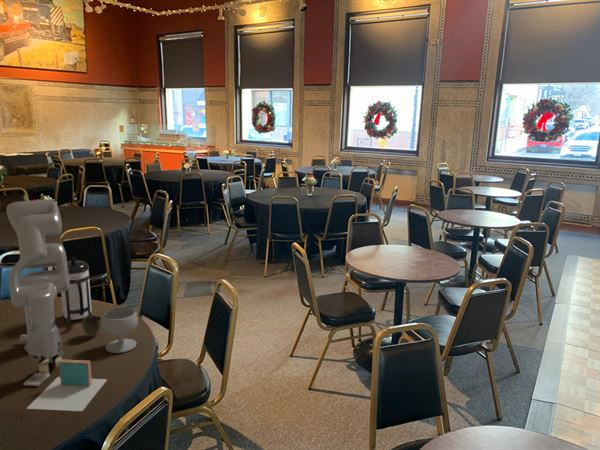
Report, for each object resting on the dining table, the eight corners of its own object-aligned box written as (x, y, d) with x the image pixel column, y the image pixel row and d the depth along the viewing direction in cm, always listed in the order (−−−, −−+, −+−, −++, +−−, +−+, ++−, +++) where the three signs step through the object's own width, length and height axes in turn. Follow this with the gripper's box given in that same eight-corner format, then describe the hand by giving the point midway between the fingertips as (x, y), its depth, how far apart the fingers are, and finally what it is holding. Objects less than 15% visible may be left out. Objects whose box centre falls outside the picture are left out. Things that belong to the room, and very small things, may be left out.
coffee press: (50, 323, 202) (44, 260, 196) (75, 309, 218) (70, 251, 211) (83, 328, 199) (78, 264, 192) (106, 314, 214) (102, 254, 207)
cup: (87, 332, 196) (85, 315, 194) (104, 331, 196) (103, 315, 195) (80, 340, 189) (78, 322, 187) (98, 340, 189) (96, 322, 187)
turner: (51, 361, 169) (51, 351, 168) (65, 362, 169) (64, 352, 168) (23, 385, 153) (22, 374, 152) (38, 386, 153) (37, 375, 152)
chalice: (135, 354, 179) (133, 319, 175) (99, 356, 177) (96, 321, 173) (141, 337, 192) (140, 305, 189) (107, 339, 190) (105, 306, 187)
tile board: (26, 412, 142) (26, 408, 141) (58, 380, 159) (57, 377, 159) (82, 415, 141) (82, 411, 141) (107, 383, 159) (107, 379, 159)
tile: (60, 385, 154) (58, 362, 152) (64, 382, 156) (61, 359, 154) (89, 387, 154) (87, 363, 152) (92, 383, 156) (90, 360, 154)
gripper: (13, 328, 154) (19, 374, 159) (59, 331, 154) (64, 377, 159) (27, 318, 161) (32, 362, 166) (71, 321, 161) (75, 365, 166)
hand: (47, 369), depth 162 cm, fingers closed on turner, 2 cm apart
